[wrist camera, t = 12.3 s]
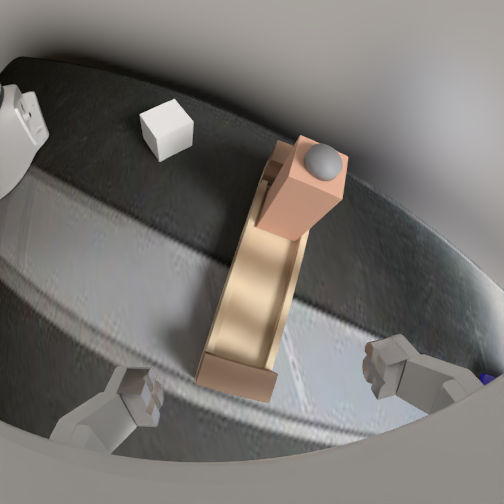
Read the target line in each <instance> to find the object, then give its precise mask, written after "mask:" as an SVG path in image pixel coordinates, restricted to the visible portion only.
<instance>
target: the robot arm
mask: <svg viewBox="0 0 504 504" xmlns="http://www.w3.org/2000/svg"><path fill="white" fill-rule="evenodd" d="M48 136H49V132H48V129H47V127H46V124H45V121H44V118H43V115H42V112H41V109H40V106H39V103H38V100H37V97H36V95H35V93H34V92H28V93H25V94H21V92H20V90H19V88H18V87H17V85H8V86H3V87H2V86H1V84H0V199H1V198H2V197H4V196H5V195H6V194H8V193H9V192H10V191H11V190H12V189H13V188H14V187H15V186H16V185H17V183H18V182H19V181H20V180H21V178H22V177H23V176H24V174H25V173H26V171H27V169H28V168H29V166H30V164H31V162H32V160H33V158H34V156H35V154H36V152H37V151H38V149H39V148H40V147H41V146H42V145H43V144H44V143H45V141H46V140H47V139H48ZM365 352H366V354H367V356H366V357H365V358H364V360H363V366H362V367H363V374H364V377H365V379H366V381H367V382H369V383H371V384H372V387H371V390H372V391H373V393H374V395H375V396H376V398H377V400H379V399H382V398H386V397H389V396H393V395H396V396H398V397H400V398H401V399H403V400H405V401H407V402H408V403H410V404H412V405H413V406H415V407H417V408H418V409H420V410H422V411H424V412H425V413H427V414H429V415H428V416H425V417H423V418H421V419H418V420H416V421H414V422H411V423H409V424H406V425H404V426H401V427H398V428H396V429H393V430H390V431H387V432H384V433H381V434H378V435H375V436H372V437H369V438H366V439H363V440H359V441H356V442H352V443H348V444H345V445H341V446H337V447H333V448H328V449H324V450H319V451H314V452H309V453H304V454H298V455H292V456H286V457H279V458H271V459H262V460H252V461H238V462H212V463H196V462H170V461H156V460H146V459H137V458H130V457H123V456H117V455H111V453H112V452H113V451H114V450H115V449H116V448H117V447H118V446H119V445H120V444H121V443H122V442H123V441H124V440H125V439H126V438H127V437H128V435H129V434H130V433H131V432H132V431H133V430H134V429H135V428H136V427H137V426H153V427H157V425H158V420H159V416H160V413H159V411H158V409H159V408H160V407H161V406H162V403H163V391H162V387H161V384H160V383H159V382H158V381H156V377H157V374H156V371H155V369H154V368H152V367H122V366H118V367H117V368H116V369H115V371H114V373H113V375H112V377H111V379H110V381H109V383H108V385H107V387H106V389H105V391H104V393H102V392H100V393H99V394H97V395H96V396H94V397H93V398H91V399H90V400H88V401H87V402H85V403H84V404H82V405H80V406H79V407H77V408H76V409H74V410H73V411H71V412H70V413H68V414H66V415H65V416H63V417H62V418H60V419H59V421H58V423H57V425H56V427H55V428H54V430H53V432H52V434H51V436H50V438H49V439H46V438H43V437H40V436H37V435H34V434H32V433H29V432H26V431H24V430H21V429H18V428H16V427H14V426H11V425H9V424H6V423H4V422H2V421H0V504H504V374H502V375H501V376H499V377H498V378H496V379H495V380H493V381H491V382H490V383H488V384H487V385H485V386H484V385H483V384H482V383H481V381H480V380H479V379H478V378H477V377H476V376H475V375H474V374H473V373H472V372H471V371H470V370H469V369H466V368H463V367H460V366H457V365H454V364H451V363H448V362H445V361H442V360H439V359H436V358H433V357H430V356H427V355H424V354H423V355H420V354H419V353H418V352H417V351H416V349H415V348H414V347H413V346H412V345H411V344H410V343H409V342H408V341H407V339H406V338H405V337H404V336H403V335H401V334H398V335H394V336H391V337H389V338H384V339H380V340H376V341H372V342H368V343H367V344H366V346H365Z"/></svg>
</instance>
